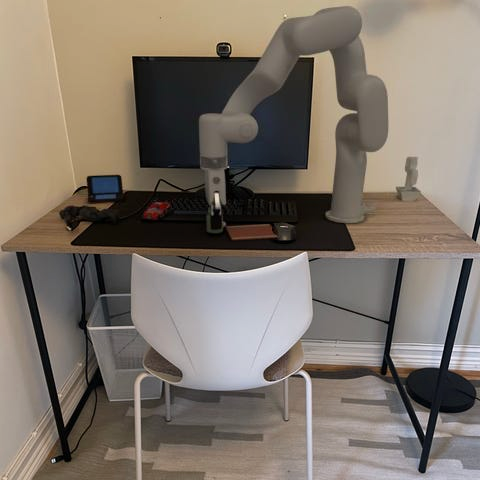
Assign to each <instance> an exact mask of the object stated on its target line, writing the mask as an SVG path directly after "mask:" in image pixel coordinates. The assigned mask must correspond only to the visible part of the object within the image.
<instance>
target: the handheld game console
mask: <svg viewBox="0 0 480 480" xmlns="http://www.w3.org/2000/svg"><path fill="white" fill-rule="evenodd" d="M122 179H123V177H122V175H120V174H103V175H102V174H99V175H97V174H95V175H87V176H86V188H87V203H89V204H96V203H98V204H99V203H117V202H123V201H125V200H124V199H125V198H124V197H125V196H124V189H123V180H122Z"/></svg>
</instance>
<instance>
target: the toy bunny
mask: <svg viewBox="0 0 480 480" xmlns="http://www.w3.org/2000/svg"><path fill="white" fill-rule="evenodd" d="M212 204H213V205H215V203H212ZM214 209H215V207H213V210H214ZM206 212H207V214H206V216H205V220H206V232H207V233H209V234H220V233H222V232H223V231H224V228H226V227H225V226H227V223H226V222H225V221H224V215H223V214H221V215H222V229H216V230H211V225H210V216H211V207H209V209H207V210H206Z"/></svg>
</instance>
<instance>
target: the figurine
mask: <svg viewBox="0 0 480 480" xmlns="http://www.w3.org/2000/svg"><path fill="white" fill-rule="evenodd" d="M418 159H419V157H417V156H406V159H405V165H404V172H405V173H406V177H405V183H404V186H395V190H396V193H397V195H398V196H397V197H398V198H399V199H400V200H401V201H402V202H414V201H416V199H417V198H418V197H419V196H420V194H421V193H422V191H421V190H420V189H419V188H417V187H416V186H415V185H417V183H418V182H417V181H418V177H419V170H418V169H417V167H418Z"/></svg>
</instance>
